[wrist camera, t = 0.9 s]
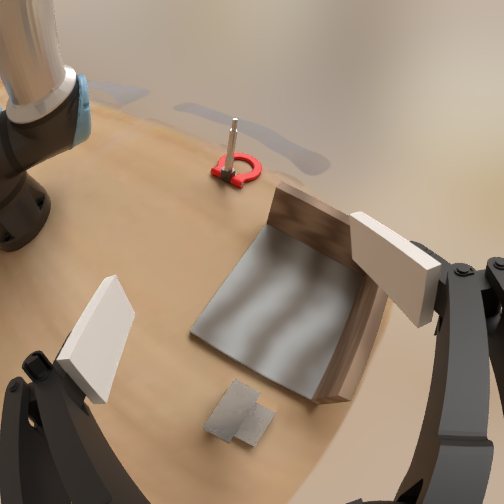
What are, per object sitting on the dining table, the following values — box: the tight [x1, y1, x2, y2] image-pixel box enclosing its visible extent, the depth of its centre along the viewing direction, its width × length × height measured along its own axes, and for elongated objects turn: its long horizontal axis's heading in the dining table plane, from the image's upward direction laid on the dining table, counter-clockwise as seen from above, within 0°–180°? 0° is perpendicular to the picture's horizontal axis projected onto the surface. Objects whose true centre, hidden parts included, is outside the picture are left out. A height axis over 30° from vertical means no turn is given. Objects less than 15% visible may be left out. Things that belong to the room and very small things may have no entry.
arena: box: [190, 181, 388, 405], centre depth 34 cm, size 19×22×9 cm
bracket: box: [203, 379, 275, 447], centre depth 23 cm, size 6×5×12 cm
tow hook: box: [211, 118, 262, 188], centre depth 46 cm, size 8×13×9 cm
